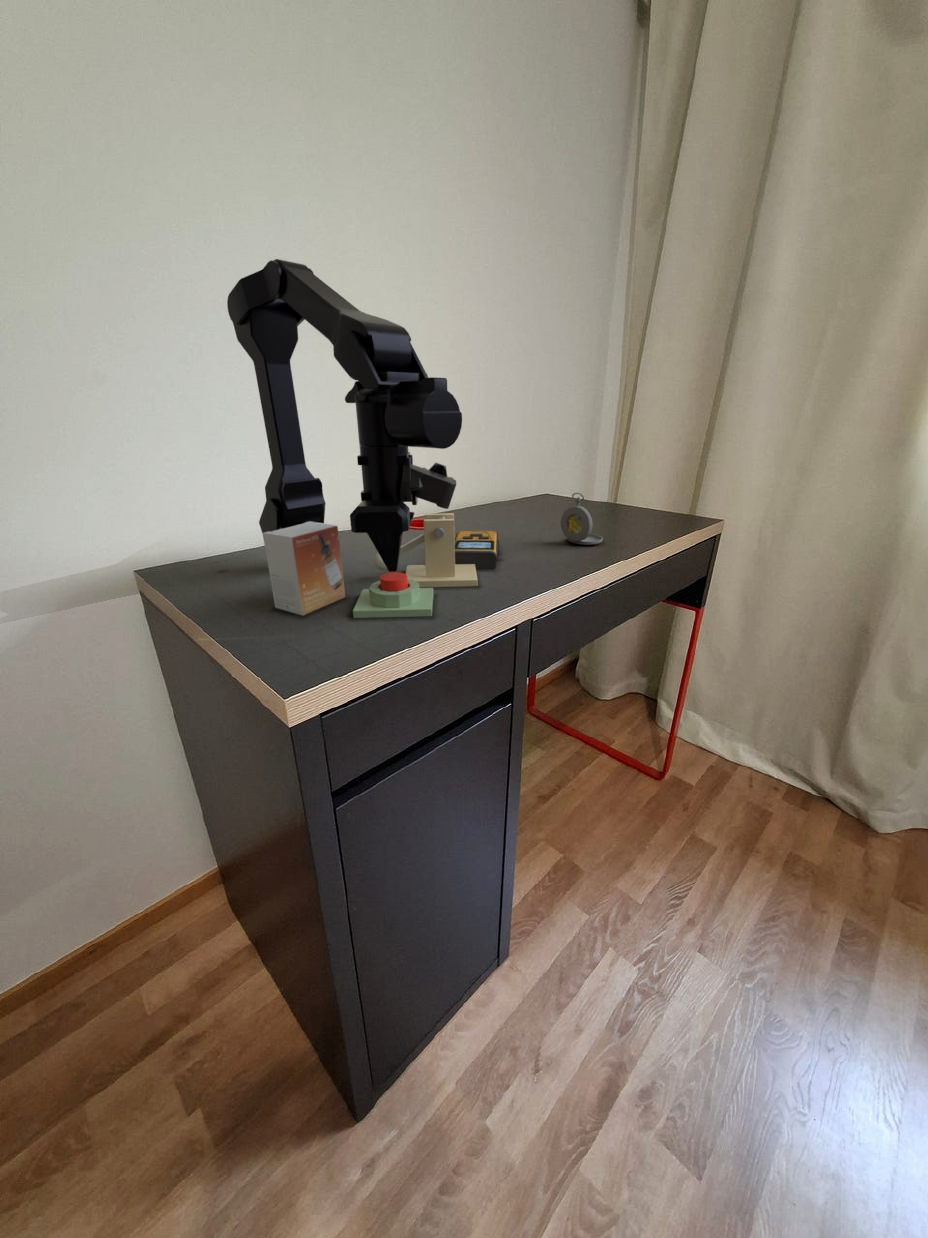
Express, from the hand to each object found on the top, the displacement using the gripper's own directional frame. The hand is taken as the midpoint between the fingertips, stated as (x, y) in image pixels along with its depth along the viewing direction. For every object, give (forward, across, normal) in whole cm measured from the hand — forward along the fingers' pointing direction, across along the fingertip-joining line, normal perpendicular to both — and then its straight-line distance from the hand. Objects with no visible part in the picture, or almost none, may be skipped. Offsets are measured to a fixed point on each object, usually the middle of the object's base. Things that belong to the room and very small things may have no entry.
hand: (393, 570), depth 64 cm
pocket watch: (+5, +31, -33) cm, 46 cm away
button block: (+5, 0, 0) cm, 5 cm away
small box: (+5, +2, +12) cm, 13 cm away
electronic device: (+5, +23, -12) cm, 26 cm away
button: (+2, 0, 0) cm, 2 cm away
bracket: (+5, +11, -6) cm, 14 cm away
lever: (+1, +11, -2) cm, 11 cm away
